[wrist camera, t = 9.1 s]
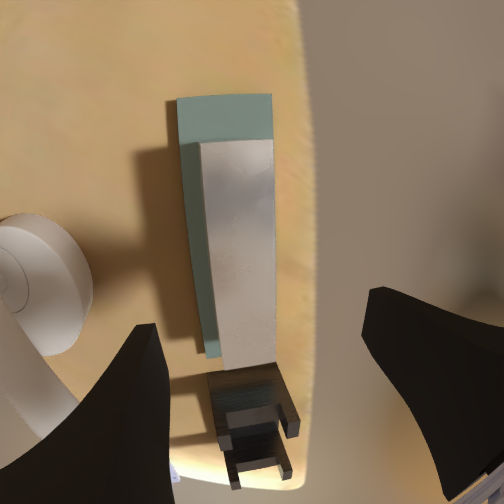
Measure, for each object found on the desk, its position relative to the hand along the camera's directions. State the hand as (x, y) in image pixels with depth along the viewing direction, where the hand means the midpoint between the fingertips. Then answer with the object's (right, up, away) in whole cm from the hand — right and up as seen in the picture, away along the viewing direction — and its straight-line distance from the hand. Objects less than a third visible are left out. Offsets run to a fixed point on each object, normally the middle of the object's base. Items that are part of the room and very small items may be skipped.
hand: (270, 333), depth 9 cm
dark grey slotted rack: (-1, -11, +14) cm, 17 cm away
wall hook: (-14, 0, +6) cm, 15 cm away
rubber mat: (-2, +3, +8) cm, 9 cm away
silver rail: (-2, +3, +7) cm, 8 cm away
